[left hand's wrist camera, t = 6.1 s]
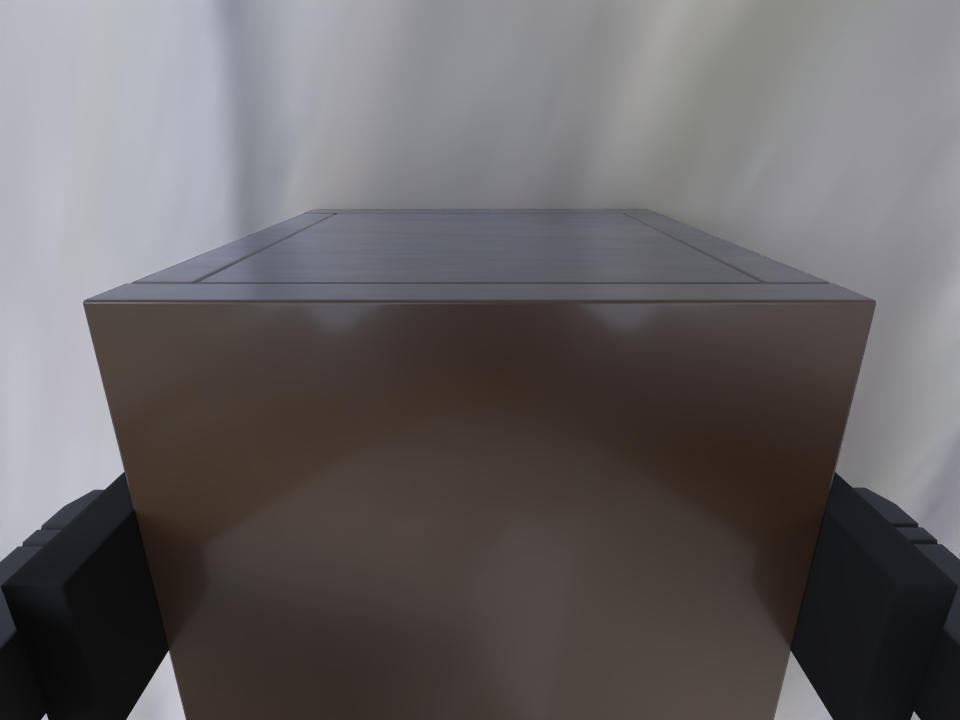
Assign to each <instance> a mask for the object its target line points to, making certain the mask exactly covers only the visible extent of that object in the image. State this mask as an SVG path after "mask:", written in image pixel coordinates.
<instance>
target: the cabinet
mask: <svg viewBox="0 0 960 720" xmlns="http://www.w3.org/2000/svg"><path fill="white" fill-rule="evenodd" d="M83 305H84V309H85V313H86V317H87V321H88V325H89V329H90V333H91V337H92V341H93V345H94V350H95V354H96V358H97V362H98V366H99V370H100V374H101V378H102V382H103V386H104V390H105V394H106V398H107V402H108V406H109V410H110V414H111V418H112V422H113V426H114V430H115V434H116V439H117V443H118V447H119V451H120V455H121V459H122V463H123V467H124V471H125V475H126V479H127V483H128V487H129V491H130V495H131V499H132V503H133V507H134V511H135V515H136V519H137V523H138V527H139V531H140V535H141V539H142V544H143V548H144V552H145V556H146V560H147V564H148V568H149V572H150V576H151V580H152V584H153V588H154V592H155V596H156V600H157V604H158V608H159V612H160V616H161V620H162V625H163V629H164V633H165V637H166V641H167V645H168V649H169V653H170V657H171V661H172V665H173V669H174V673H175V677H176V681H177V685H178V689H179V693H180V697H181V701H182V706H183V710H184V714H185V718H186V720H774V716H775V712H776V708H777V704H778V700H779V696H780V692H781V688H782V684H783V680H784V676H785V672H786V668H787V664H788V660H789V655H790V651H791V647H792V643H793V639H794V635H795V631H796V627H797V623H798V619H799V615H800V611H801V607H802V603H803V599H804V595H805V590H806V586H807V582H808V578H809V574H810V570H811V566H812V562H813V558H814V554H815V550H816V546H817V542H818V538H819V534H820V530H821V525H822V521H823V517H824V513H825V509H826V505H827V501H828V497H829V493H830V489H831V485H832V481H833V477H834V473H835V469H836V464H837V460H838V456H839V452H840V448H841V444H842V440H843V436H844V432H845V428H846V424H847V420H848V416H849V412H850V408H851V404H852V399H853V395H854V391H855V387H856V383H857V379H858V375H859V371H860V367H861V363H862V359H863V355H864V351H865V347H866V343H867V339H868V334H869V330H870V326H871V322H872V318H873V314H874V310H875V306H876V301H875V300H873V299H870V298H868V297H865V296H863V295H860V294H858V293H855V292H853V291H850V290H848V289H845V288H843V287H840V286H838V285H835V284H831V283H829V282H827V281H824V280H822V279H819V278H817V277H814V276H812V275H809V274H807V273H804V272H802V271H799V270H797V269H794V268H792V267H789V266H787V265H784V264H782V263H779V262H777V261H774V260H772V259H769V258H767V257H764V256H762V255H759V254H757V253H754V252H752V251H749V250H747V249H744V248H742V247H739V246H737V245H734V244H732V243H729V242H727V241H724V240H722V239H719V238H717V237H714V236H712V235H709V234H707V233H704V232H702V231H699V230H697V229H694V228H692V227H689V226H687V225H684V224H682V223H680V222H677V221H675V220H672V219H670V218H667V217H665V216H662V215H660V214H657V213H655V212H652V211H650V210H311V211H308V212H306V213H304V214H302V215H299V216H297V217H294V218H292V219H289V220H287V221H284V222H282V223H279V224H277V225H274V226H272V227H269V228H267V229H264V230H262V231H259V232H257V233H254V234H252V235H249V236H247V237H244V238H242V239H239V240H237V241H234V242H232V243H229V244H227V245H224V246H222V247H219V248H217V249H214V250H212V251H209V252H207V253H204V254H202V255H199V256H197V257H194V258H192V259H189V260H187V261H184V262H182V263H179V264H177V265H174V266H172V267H169V268H167V269H164V270H162V271H159V272H157V273H154V274H152V275H149V276H147V277H144V278H142V279H139V280H137V281H134V282H132V283H130V284H124V285H122V286H119V287H117V288H114V289H112V290H109V291H107V292H104V293H101V294H99V295H96V296H94V297H91V298H89V299H86V300H84V302H83Z"/></svg>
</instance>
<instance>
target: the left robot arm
mask: <svg viewBox="0 0 960 720" xmlns="http://www.w3.org/2000/svg"><path fill="white" fill-rule="evenodd" d="M168 651H169V649H168V645H167V641H166V637H165V633H164V629H163V625H162V620H161V616H160V612H159V608H158V604H157V600H156V596H155V592H154V588H153V584H152V580H151V576H150V572H149V568H148V564H147V560H146V556H145V552H144V548H143V544H142V539H141V535H140V531H139V527H138V523H137V519H136V515H135V511H134V507H133V503H132V499H131V495H130V491H129V487H128V483H127V479H126V475H125V472H124V473H123V474H121V475H120V476H119V477H118V478H117V479H116V480H115V481H114V482H113V483H112V484H111V485H110V486H108V487H107V488H106V489H105V490H93V491H91V492H90V493H88V494H86V495H84V496H82V497H80V498H79V499H77V500H75V501H73V502H71V503H69V504H68V505H66V506H64V507H63V508H62V509H61V510H59V511H58V512H57V513H56V514H55V515H54V516H53V517H51V518H50V519H49V520H48V521H47V522H46V523H45V524H43V525H42V528H41V530H37V531H35V532H34V533H33V534H32V535H31V536H30V537H28V538H27V539H26V540H25V541H24V542H23V546H22V547H17V548H16V549H15V550H14V551H12V552H11V553H10V554H9V555H8V556H7V557H6V558H4V559H3V560H2V561H1V562H0V720H41V719H42V718H43V716H44V715H45V714H47V717H48V719H49V720H126V719H127V717H128V716H129V714H130V712H131V711H132V709H133V708H134V706H135V704H136V703H137V701H138V699H139V698H140V696H141V695H142V693H143V691H144V690H145V688H146V686H147V685H148V683H149V682H150V680H151V678H152V677H153V675H154V673H155V672H156V670H157V668H158V667H159V665H160V664H161V662H162V660H163V659H164V657H165V655H166V654H167V652H168ZM791 652H792V653H793V655H794V656H795V658H796V660H797V661H798V663H799V665H800V666H801V668H802V669H803V671H804V673H805V674H806V676H807V678H808V679H809V681H810V683H811V684H812V686H813V687H814V689H815V691H816V692H817V694H818V696H819V697H820V699H821V700H822V702H823V704H824V705H825V707H826V709H827V710H828V712H829V713H830V715H831V717H832V718H833V720H911V717H912V714H913V711H915V713H916V714H917V715H918V717H919V718H920V719H921V720H960V560H959V559H958V558H957V557H956V556H955V555H954V554H953V553H951V552H950V551H949V550H948V549H947V548H946V547H944V546H943V545H942V544H937V540H936V539H935V538H934V537H933V536H932V535H931V534H929V533H928V532H927V531H926V530H925V529H924V528H919V527H918V523H917V522H916V521H914V520H913V519H912V518H911V517H910V516H909V515H908V514H906V513H905V512H904V511H903V510H902V509H901V508H899V507H898V506H897V505H896V504H894V503H892V502H891V501H889V500H887V499H885V498H883V497H881V496H880V495H878V494H876V493H874V492H872V491H870V490H869V489H867V488H852V487H851V486H850V485H849V484H848V483H847V482H845V481H844V480H843V479H842V478H841V477H840V476H839V475H838V474H837V473H836V472H835V473H834V477H833V481H832V485H831V489H830V493H829V497H828V501H827V505H826V509H825V513H824V517H823V521H822V525H821V530H820V534H819V538H818V542H817V546H816V550H815V554H814V558H813V562H812V566H811V570H810V574H809V578H808V582H807V586H806V590H805V595H804V599H803V603H802V607H801V611H800V615H799V619H798V623H797V627H796V631H795V635H794V639H793V643H792V647H791Z"/></svg>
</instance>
